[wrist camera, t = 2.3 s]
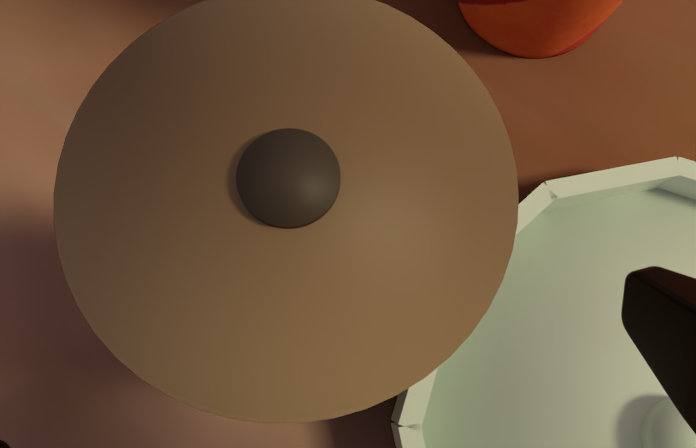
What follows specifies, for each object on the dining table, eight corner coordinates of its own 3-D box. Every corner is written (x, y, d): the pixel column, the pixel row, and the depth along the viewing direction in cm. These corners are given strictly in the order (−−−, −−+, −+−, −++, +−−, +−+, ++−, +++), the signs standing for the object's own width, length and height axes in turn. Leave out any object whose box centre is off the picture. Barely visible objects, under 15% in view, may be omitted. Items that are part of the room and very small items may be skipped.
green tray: (925, 865, 14) (1020, 942, 12) (326, 638, 15) (325, 675, 13) (945, 273, 18) (1016, 260, 16) (476, 127, 19) (492, 99, 18)
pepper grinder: (365, 416, 17) (451, 501, 5) (224, 366, 17) (-42, 325, 5) (408, 275, 18) (567, 50, 6) (276, 231, 18) (165, -70, 6)
